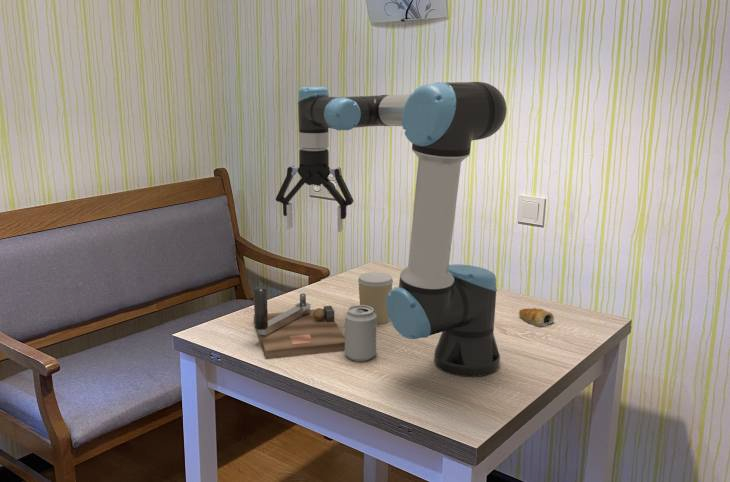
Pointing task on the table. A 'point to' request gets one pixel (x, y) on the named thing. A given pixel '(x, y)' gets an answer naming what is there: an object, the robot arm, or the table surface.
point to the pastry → (536, 316)
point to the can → (360, 333)
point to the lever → (278, 321)
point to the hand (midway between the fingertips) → (314, 229)
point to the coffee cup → (375, 293)
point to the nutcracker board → (304, 335)
